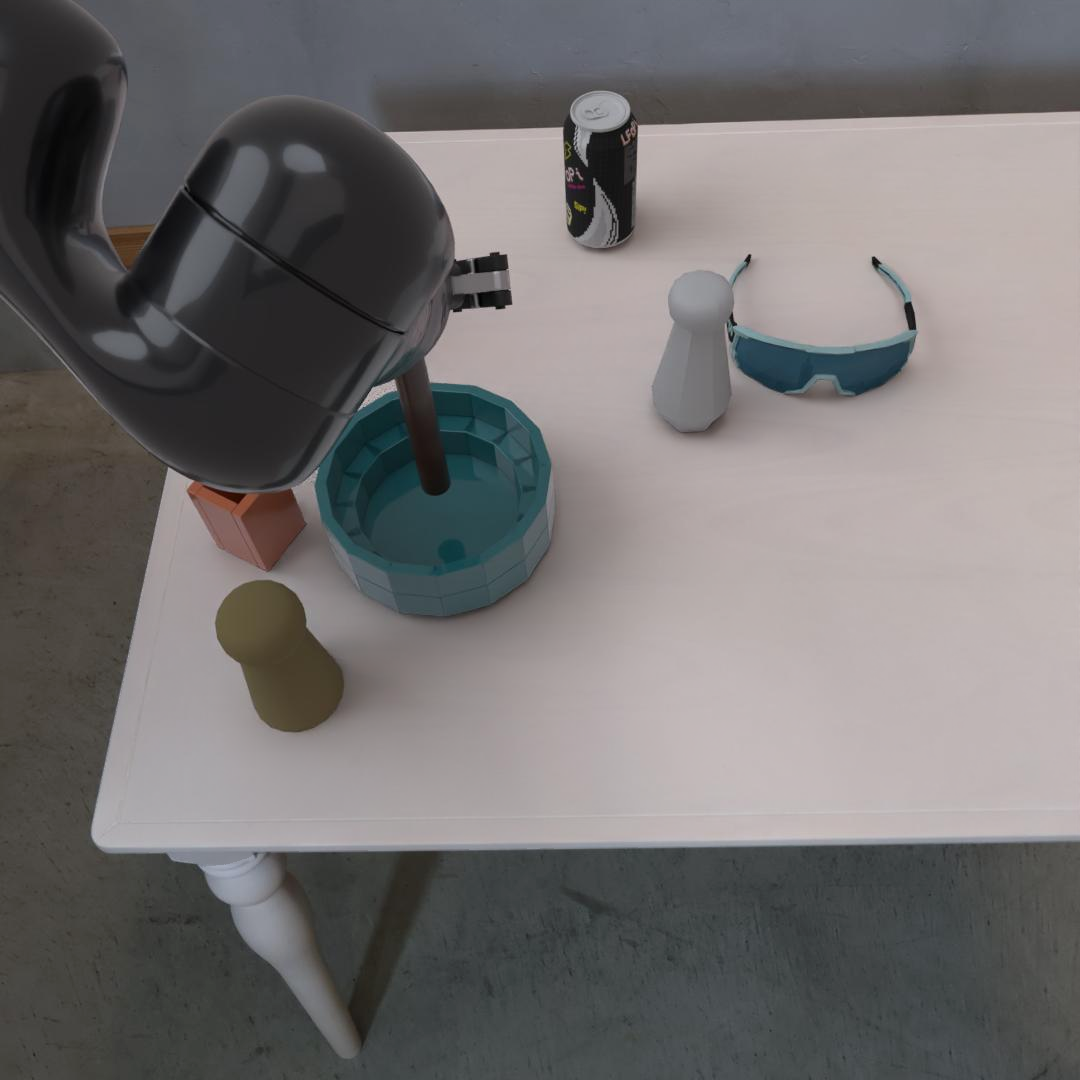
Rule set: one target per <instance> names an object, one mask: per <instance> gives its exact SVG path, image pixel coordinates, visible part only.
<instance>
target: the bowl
mask: <svg viewBox="0 0 1080 1080" xmlns="http://www.w3.org/2000/svg"><path fill="white" fill-rule="evenodd" d="M430 386H431V391H432V395H433V400H434V405H435V409H436V414H437V419H438V424H439V428H440V433H441V438H442V442H443V447H444V452H445V457H446V461H447V466H448V471H449V475H450V480H451V485H450V488H449V489H448V490H447V491H446V492H445V493H444V494H442V495H438V496H431V495H428V494H426V493H425V492H424V491H423V489H422V487H421V483H420V479H419V475H418V471H417V467H416V463H415V459H414V455H413V451H412V447H411V443H410V439H409V435H408V431H407V427H406V423H405V419H404V416H403V412H402V408H401V404H400V400H399V396H398V392H397V390H393V391H390V392H386V393H385V394H383V395H382V396H379V397H378V398H376V399H375V400H373V401H372V402H370V403H368V404H366V405H365V406H363V407H361V408H359V409H358V411H357V412H355V415H354V417H353V418H352V420H351V421H350V423H349V424H348V426H347V427H346V429H345V430H344V432H343V434H342V435H341V437H340V438H339V440H338V441H337V443H336V444H335V446H334V447H333V449H332V450H331V452H330V453H329V455H328V456H327V457H326V459H325V460H324V461H323V463H322V464H321V465H320V467H319V468H318V469H317V473H316V478H315V481H314V485H313V486H314V492H315V496H316V501H317V505H318V510H319V516H320V520H321V525H322V526H323V529H324V531H325V534H326V536H327V540H328V541H329V543H330V546H331V549H332V551H333V554H334V557H335V558H336V562H337V563H338V565H339V567H340V568H341V569H342V570H343V571H344V573H345V574H346V575H347V577H348V578H349V579H350V580H351V581H352V583H353V584H354V585H355V586H356V588H357V589H358V590H359V591H360V593H361V594H363V595H364V596H366V597H368V598H370V599H373V600H374V601H376V602H379V603H381V604H382V605H384V606H386V607H388V608H390V609H392V610H394V611H396V612H398V613H402V614H410V615H411V614H413V615H424V616H434V617H449V616H455V615H457V614H461V613H465V612H469V611H474V610H476V609H481V608H485V607H488V606H490V605H492V604H494V603H495V602H497V601H498V600H500V599H501V598H503V597H504V596H505V595H507V594H509V593H510V592H512V591H513V590H514V589H516V588H517V587H519V586H520V585H522V584H523V583H524V582H526V581H527V580H528V579H529V578H530V576H531V574H532V573H533V571H534V570H535V569H536V567H537V565H538V564H539V562H540V561H541V559H542V558H543V556H544V555H545V553H546V551H547V550H548V548H549V547H550V545H551V539H552V532H553V527H554V518H555V514H556V513H555V511H556V504H555V503H556V502H555V489H554V475H553V463H552V461H551V460H552V459H551V457H550V454H549V451H548V449H547V446H546V445H547V444H546V442H545V440H544V437H543V434H542V431H541V428H539V426H538V425H537V424H535V422H533V420H531V418H530V417H529V416H527V414H526V413H525V412H524V411H523V410H522V409H521V408H520V407H518V405H517V404H515V402H514V401H513V400H510V399H509V398H506V397H503V396H501V395H499V394H497V393H494V392H492V391H490V390H488V389H485V388H483V387H480V386H478V385H474V384H463V383H447V382H446V383H445V382H434V381H433V382H430Z"/></svg>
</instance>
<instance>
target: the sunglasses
mask: <svg viewBox="0 0 1080 1080" xmlns="http://www.w3.org/2000/svg"><path fill="white" fill-rule="evenodd" d="M751 259H752V254H751V253H748V254H747V256H746V257H745V259H744V260H743V261H742V262H741V263H740V264H739V265H738V266H737V267H736V268H735V269H734V271H733V273H732V275H731V276H730V278H729V279H728V280H727V281H728V282H729V283H730V284H731V286H732V289H733V288H734V285H735V282H736V281H737V279H738V278H739V277H740V275H741V274H742V273H743V272H744V271H745V270H746V268H748V266H749V264H750V262H751ZM871 265H872V266H873V267H874V268H875V269H876V270H877V271H878V272H879V273H880V274H881V275H883V276H884V277H886V278H887V279H888V281H890V282H891V283H892V285H893V286H894V287H895V288H896V290H897V291H898V292H899V294H900V296H901V297H902V300H903V310H904V314H905V319H906V324H907V327H908V330H905V331H903V332H901V333H898V334H896V335H894V336H892V337H891V338H890V337H889V338H886V339H883V340H879V341H874V342H870V343H863V344H856V345H851V346H820V345H819V346H817V345H811V344H805V343H800V342H794V341H791V340H786V339H783V338H778V337H775V336H771V335H766V334H764V333H761V332H759V331H755V330H754V329H752V328H750V327H748V326H745V325H744V326H743V325H741V326H740V325H738V322H736V321H735V318H734V316H735V315H734V310H733V311H732V313H731V315H730V317H729V319H728V321H727V323H726V329H727V331H726V332H727V338H728V341H729V342H730V343H729V347H730V349H731V357H732V359H733V361H734V363H735V366H736V368H737V369H740V371H742V372H743V373H744V374H745V375H747V376H749V377H750V378H752V379H754V380H755V381H757V382H758V383H760V384H762V385H763V386H765V387H766V388H768V389H771V390H774V391H776V392H780V393H782V394H784V395H791V394H793V395H794V394H805V393H806V392H807V391H808V390H809V389H810V388H812V387H813V386H814V385H815V384H816V383H817V382H819V381H829V382H831V383H832V385H833V387H834V390H835V391H836V392H837V394H838V395H845V396H850V397H856V396H859V395H861V394H863V393H865V392H868V391H870V390H873V389H875V388H878V387H881V386H883V385H884V384H886V383H887V382H888V381H890V380H891V379H892V378H894V377H895V376H896V375H897V374H899V373H902V371H903V370H904V368H905V367H906V365H907V364H908V362H909V358H910V356H911V355H912V353H913V351H914V348H915V343H916V339H917V335H918V333H919V330H917V322H916V321H917V319H916V312H915V309H914V306H913V303H912V300H913V299H912V293H911V292H910V290H909V289H908V287H907V286H906V285H905V283H904V282H903V280H902V279H901V278H900V276H899V275H897V274H896V273H895V272H894V271H893V270H892V269H890V268H889V267H888V266H887V265H885V264H883V263H882V262H881V261H880V260H879V259H878V258H877V257H876V256H874V255H873V256H871Z"/></svg>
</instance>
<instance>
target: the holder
mask: <svg viewBox="0 0 1080 1080" xmlns="http://www.w3.org/2000/svg"><path fill="white" fill-rule="evenodd" d="M185 492H186V493H187V495H188V497H189V498H190V501H192V503H193V506H194V507H195V509H196V511H197V513H198V515H199V516H200V518H201V519H202V522H203V523H204V525H205V527H206V529H207V531H208V532H209V534H210V536H211V537H212V540H213V541H214V543H215V545H216V546H217V547H218V548H221V549H222V550H225V551H226V552H227V553H230V554H232V555H234V556H235V557H237V558H240V559H242V561H243V560H244V561H246V562H247V563H249V564H252V565H253V566H255V567H257V568H260V569H261V570H263V571H265V572H269V571H270V570H271V569H272V567H273V566H274V565H275V564H276V562H277V561H278V560H279V559H280V557H281V556H282V555H283V554H284V552H285V551H286V550H287V548H288V547H289V546H290V545H291V543H292V542H293V541H294V540H295V538H296V537H297V536H298V535H299V533H301V531H302V529H303V528H304V527H305V526H306V524H307V522H306V520H305V517H304V515H303V512H302V510H301V507H300V505H299V502H298V501H297V498H296V496H295V493H294V491H293V488H290V489H288V490H284V491H280V492H276V493H265V494H246V493H234V492H227V491H223V490H218V489H215V488H212V487H209V486H206V485H203V484H200V483H198V482H196V481H193V482H192V483H191V484H190V485H189V486H188V488H186V491H185Z"/></svg>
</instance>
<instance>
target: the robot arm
mask: <svg viewBox="0 0 1080 1080" xmlns="http://www.w3.org/2000/svg"><path fill="white" fill-rule="evenodd" d="M128 77H129V76H128V67H127V63H126V58H125V56H124V53H123V51H122V49H121V47H120V45H119V44H118V42H117V41H116V39H115V38H114V37H113V35H112V33H110V31H109V30H108V29H107V27H105V26H104V25H103V24H101V23H100V22H99V20H97V19H96V18H95V17H94V16H93V15H92V14H91V13H89V11H87V10H86V9H85V8H83V7H82V6H80V5H79V4H78V3H77V2H75V1H73V0H0V299H1V300H2V301H3V302H5V304H7V306H8V307H9V308H11V310H13V311H14V313H16V314H17V315H18V316H19V317H20V318H21V320H23V322H24V323H25V324H26V325H27V326H28V327H29V328H30V329H31V330H32V331H33V332H34V333H35V335H36V336H37V337H39V339H40V340H42V342H43V343H44V344H45V345H46V346H47V347H48V348H49V350H50V351H52V353H53V354H54V355H55V356H56V357H57V358H58V359H59V361H60V362H61V363H62V364H63V365H64V366H65V367H66V368H67V369H68V370H69V372H70V373H71V374H72V375H73V376H74V377H75V378H76V380H77V381H78V382H79V383H80V384H81V385H82V386H83V388H84V389H85V390H86V391H87V392H88V394H90V395H91V396H92V398H93V399H94V400H95V401H96V402H97V403H98V404H99V405H100V406H101V407H102V409H104V411H105V412H106V413H107V414H108V415H109V416H110V418H111V419H112V420H113V421H114V422H115V423H117V425H118V426H119V427H121V428H122V429H123V431H125V433H127V434H128V435H129V436H130V437H131V438H132V440H134V441H135V442H136V443H137V444H138V445H139V446H140V447H141V448H143V449H144V450H145V451H146V452H148V453H149V454H150V455H151V456H153V457H154V458H155V459H156V460H157V461H159V462H161V463H162V464H163V465H165V466H166V467H168V468H169V469H171V470H173V471H174V472H176V473H178V474H179V475H181V476H183V477H184V478H187V479H189V480H191V481H193V482H194V481H196V482H198V483H200V484H203V485H206V486H209V487H212V488H215V489H218V490H223V491H227V492H234V493H246V494H265V493H276V492H280V491H284V490H288V489H290V488H292V489H293V488H295V487H297V486H299V485H301V484H302V483H304V482H305V481H306V480H308V479H309V478H310V477H311V476H312V475H313V474H314V473H315V472H316V471H318V470H319V467H320V465H321V464H322V463H323V461H324V460H325V459H326V457H327V456H328V455H329V453H330V452H331V450H332V449H333V447H334V446H335V444H336V443H337V441H338V440H339V438H340V437H341V435H342V434H343V432H344V430H345V429H346V427H347V426H348V424H349V423H350V421H351V420H352V418H353V417H354V415H355V412H357V411H358V410H360V409H361V406H362V405H363V403H364V402H365V400H366V399H367V397H368V396H369V394H370V392H371V391H372V390H373V388H377V387H379V386H382V385H384V384H385V385H386V384H388V383H390V382H392V381H395V380H394V379H396V378H398V377H400V376H401V375H402V374H404V373H405V372H407V371H408V370H409V369H411V368H412V367H413V366H414V365H416V364H417V363H418V362H419V361H420V360H422V359H423V358H425V357H426V356H427V355H428V354H429V353H430V352H431V351H433V349H434V348H435V346H436V345H437V343H438V342H439V340H440V338H441V337H442V335H443V333H444V332H445V331H444V330H445V328H446V326H447V323H448V320H449V317H450V313H451V311H452V313H462V312H463V310H475V309H485V308H486V309H487V308H495V310H497V311H498V310H506V309H507V308H506V307H507V306H513V297H512V287H511V277H510V270H509V261H508V260H509V257H508V254H507V253H505V254H500V253H501V252H500V251H494V252H489V255H485V256H479V257H469V258H465V259H459V260H457V258H456V239H455V233H454V229H453V226H452V223H451V220H450V216H449V214H448V211H447V210H446V206H445V205H444V203H443V201H442V200H441V198H440V196H439V194H438V193H437V190H436V189H435V187H434V185H433V184H432V182H431V181H430V179H429V178H428V176H427V175H426V174H425V172H423V170H422V168H421V167H420V166H419V165H418V164H417V162H416V161H415V160H414V159H413V158H412V157H411V156H410V154H408V153H407V152H406V151H405V150H404V149H403V148H402V146H401V145H399V144H398V143H397V142H396V141H395V140H394V139H392V137H390V136H389V135H388V134H387V133H385V132H384V131H383V130H382V129H380V128H379V127H377V126H376V125H374V124H373V123H371V122H370V121H368V120H367V119H365V118H363V117H361V116H360V115H358V114H356V113H355V112H352V111H350V110H348V109H346V108H344V107H343V106H340V105H337V104H335V103H332V102H330V101H327V100H322V99H318V98H315V97H310V96H307V95H306V96H305V95H298V94H278V95H277V94H276V95H272V96H266V97H262V98H259V99H257V100H254V101H252V102H249V103H247V104H246V105H243V106H242V107H240V108H238V109H237V110H235V111H233V112H232V113H231V114H230V115H229V116H227V117H226V118H225V119H224V120H223V121H221V123H220V124H219V125H218V126H217V127H216V128H215V129H214V130H213V132H212V133H211V134H210V135H209V137H208V138H207V140H206V141H205V142H204V144H203V145H202V147H201V149H200V150H199V152H198V154H197V155H196V156H195V159H194V160H193V162H192V163H191V165H190V166H189V168H188V170H187V172H186V173H185V175H184V177H183V183H184V184H181V185H178V187H177V188H176V190H175V192H174V193H173V195H172V196H171V198H170V200H169V202H168V203H167V205H166V207H165V208H164V210H163V211H162V213H161V215H160V216H159V218H158V220H157V222H156V223H155V225H154V227H153V228H152V230H151V232H150V233H149V235H148V236H147V239H146V240H145V241H144V243H143V245H142V247H141V248H140V250H139V252H138V254H137V255H136V257H135V259H134V260H133V262H132V263H131V266H130V267H129V269H128V267H127V266H126V265H125V264H124V261H122V258H121V257H120V255H119V253H118V252H117V250H116V248H115V245H114V243H113V242H112V240H111V236H110V234H109V232H108V230H107V227H106V223H105V219H104V214H103V204H104V190H105V184H106V179H107V175H108V171H109V167H110V164H111V159H112V156H113V153H114V150H115V147H116V144H117V143H116V142H117V139H118V136H119V134H120V133H119V132H120V129H121V126H122V122H123V117H124V112H125V108H126V103H127V97H128V88H129V78H128Z"/></svg>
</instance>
